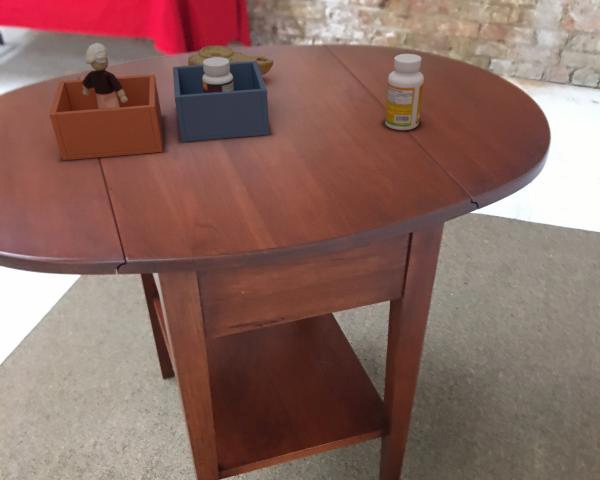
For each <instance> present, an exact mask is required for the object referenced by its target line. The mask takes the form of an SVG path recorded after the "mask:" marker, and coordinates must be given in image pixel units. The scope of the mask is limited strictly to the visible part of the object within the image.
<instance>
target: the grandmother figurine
mask: <svg viewBox="0 0 600 480" xmlns="http://www.w3.org/2000/svg"><path fill="white" fill-rule="evenodd" d="M107 51H108V50H107V47H106V46H105V45H104V44H102V43H99V42H95V43H92V44H90V45H89V46H88V48H87V49H86V52H85V55H84V57H85V58H84V63H86V64H87V65H90V66H91V67H92V69H94V70H91V71H90V72H88V73H87V74H86V75H85V77H84V78H83V79H82V80H83V82H82V83H83V95H85V96H88V95H89V94H90V92H89V90H90V88H94V89H95V93H96V96H97V102H98V107H99V109H105V108H118V107H120V106H119V101H118V98H117V95H116V92H117V94H118V96H119V97H120V100H121V102H122V103H123V104H125V103H127V102H128V99H127V97H126V96H125V92H124V90H123V87H122V86H121V84H120V83H119V81H118V80H117V78H116V77H117V76H116V75H115V74H114V73H112V72H110V71H108V70H107V68H108V66H109V59H108V52H107ZM115 91H116V92H115Z"/></svg>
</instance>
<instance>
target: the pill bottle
mask: <svg viewBox="0 0 600 480" xmlns="http://www.w3.org/2000/svg"><path fill="white" fill-rule="evenodd" d="M203 70H204V73H205V74H204V75H203V77H202V81H203V90H204V93H214V92H227V91H234V84H233V76H232V74H231V73H230V72H229V71H230V65H229V60H228V59H226V58H222V57H213V58H208V59H205V60H204V61H203Z"/></svg>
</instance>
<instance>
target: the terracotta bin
mask: <svg viewBox="0 0 600 480" xmlns="http://www.w3.org/2000/svg"><path fill="white" fill-rule="evenodd" d="M115 77H116V78H117V80H118V81H119V83H120V84H121V86H122V87H123V90H124V92H125V96H126V97H127V99H128V102H127V103H125V104H123V103H122V102H121V100H120V97H119V96H118V94H117V92H116V91H115V92H116V95H117V98H118V101H119V106H120V107H118V108H105V109H99V107H98V102H97V96H96V93H95V89H94V88H90V90H89V92H90V94H89V95H88V96H85V95H83V83H82V82H83V80H84V79H75V80H74V79H73V80H60V81H59V82H58V86H57V88H56V91H55V92H56V93H55V96H54V100H53V102H52V106H51V109H50V113H49V117H50V121H51V125H52V128H53V131H54V135H55V138H56V141H57V145H58V149H59V152H60V155H61V159H62V161H71V160H73V161H74V160H83V159H85V160H86V159H95V158H108V157H119V156H129V155H142V154H144V155H145V154H154V153H163V152H164V151H163V116H162V110H161V105H160V98H159V93H158V86H157V79H156V75H155V74H143V75H141V74H140V75H130V76H129V75H128V76H115Z"/></svg>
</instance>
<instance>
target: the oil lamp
mask: <svg viewBox="0 0 600 480" xmlns="http://www.w3.org/2000/svg"><path fill="white" fill-rule="evenodd" d="M213 57H222V58H226V59H228V60H229V63H234V62H248V61H257V64H258V67H259V69H260V72H261V75H262V76H264V75H266V74H267V73H269V72H270V71H271V69H272V68H273V66H274V59H272V58H269V57H268V56H267V57H266V56H265V55H245V54H243V53H242V52H240V51H234V50H233V48H231V47H229V46H226V45H220V44H219V45H207V46H204V47H202V48H201V49H199V50H198V51H197V52H195V53H191V54H190V55H189V56H188V59H187V66H192V65H203V61H204V60H205V59H208V58H213Z"/></svg>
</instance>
